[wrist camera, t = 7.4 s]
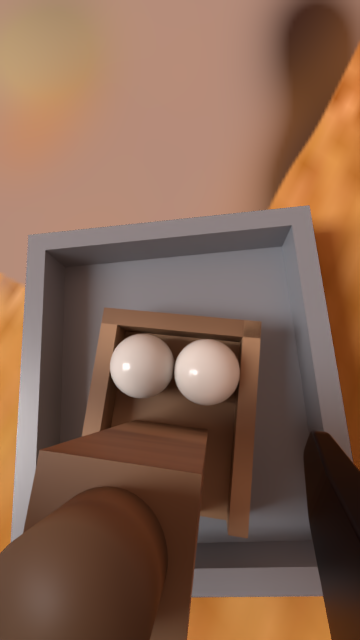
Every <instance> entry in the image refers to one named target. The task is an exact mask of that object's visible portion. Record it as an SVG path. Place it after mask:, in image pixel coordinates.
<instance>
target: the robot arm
mask: <svg viewBox="0 0 360 640" xmlns="http://www.w3.org/2000/svg"><path fill="white" fill-rule="evenodd" d="M303 461H304V473H305V485H306V497H307V508H308V518H309V525H310V531H311V536H312V541H313V546H314V551H315V556H316V561H317V567H318V572H319V577H320V582H321V587H322V592H323V597H324V603H325V608H326V613H327V618H328V623H329V628H330V633H331V639H332V640H360V471H359V469H358V468H357V467H356V466H355V464H354V463H353V462H352V461H351V459H350V458H349V457H348V456H347V455H346V453H345V452H344V451H343V450H342V448H341V447H340V446H339V445H338V443H337V442H336V441H335V440H334V438H333V437H332V436H331V435H330V434H329V433H328V432H325V431H317V430H312V431H311V432H310V434H309V436H308V439H307V442H306V445H305V448H304V453H303Z"/></svg>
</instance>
